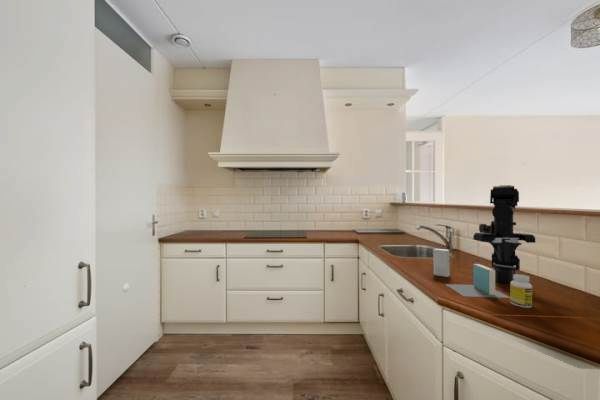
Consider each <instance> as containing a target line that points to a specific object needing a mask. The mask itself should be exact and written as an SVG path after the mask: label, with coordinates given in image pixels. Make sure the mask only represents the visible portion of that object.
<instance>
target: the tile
mask: <svg viewBox="0 0 600 400" xmlns="http://www.w3.org/2000/svg"><path fill="white" fill-rule="evenodd" d="M472 267H473V271H472V274H473V280H472V281H473V282H472V283H473V284H472V285H473V286H474V287H476V288H477V289H479V290H481V291H483V292H485V293H487V294H488V295H495V290H496V281H495V270H494V269H493V268H491V267H488V266H486V265H483V264H481V263H474V264H472Z"/></svg>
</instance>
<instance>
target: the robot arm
mask: <svg viewBox="0 0 600 400" xmlns="http://www.w3.org/2000/svg"><path fill="white" fill-rule="evenodd" d="M489 198H490V199H489V204H493V208H492V211H491V213H492V216H493V220H492V221H490V225H487V224H486V223H481V224H479V226H478V231H479V232H475V233H474V234H473V237H472V238H473V239H472V240H474V241H477V242H482V243H483V242H484V243H489V244H490V245H491V246H492V248H493V252H491V267H492V268H494V269H493V270H495V283H496V282H497V283H499V284H500V285H501V284H502V285H510V284H511V281H513V280H514V279H513V275H514V274H516V271H517V272H518V271H520V270H521V267H520V266H521V264H520V263H521V262H520V261H521V260H520V258H519V257H518V255H516V250H517V249H518V247H519V246H522V242H520V241H524V242H526V243H527V244H529V243H531V244H532V243H533V244H534V243H536V236H535V235H534V234H530V233H525V232H523V233H522V232H521V233H520V232H514V226H517V222H515V221H514V213H515V212H516V207H518V203H519V202H520V192H519V190H518V188H515V186H514V185H512V184H509V185H508V184H506V185H505V184H504V185H503V184H502V185H497V186H496V185H495V186H493V187H492V188H491V189H490V197H489Z"/></svg>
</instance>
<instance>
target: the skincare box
mask: <svg viewBox="0 0 600 400" xmlns="http://www.w3.org/2000/svg"><path fill="white" fill-rule="evenodd" d="M432 255H433V256H432V258H433V259H432V261H433V263H432V264H433V275H434V276H438V277H439V276H440V277H446V278H449V277H450V250H449V249H446V248H445V249H443V248H434V249H432Z"/></svg>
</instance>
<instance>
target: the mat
mask: <svg viewBox="0 0 600 400" xmlns="http://www.w3.org/2000/svg"><path fill="white" fill-rule="evenodd" d="M445 286H447V287H448V288H450V289H452V290H453V291H455V292H456V293H458V294H460V295H461V296H462V297H468V298H470V297H472V298H473V297H474V298H475V297H476V298H503V299H505V298H508V299H510V296H508V295H506V294H505V293H504V292H501V291H499V290H496V289H495V295H488V294H487V293H485V292H483V291H481V290H479V289H477V288H476V287H474V286H473V284H459V283H458V284H453V283H452V284H451V283H445Z"/></svg>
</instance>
